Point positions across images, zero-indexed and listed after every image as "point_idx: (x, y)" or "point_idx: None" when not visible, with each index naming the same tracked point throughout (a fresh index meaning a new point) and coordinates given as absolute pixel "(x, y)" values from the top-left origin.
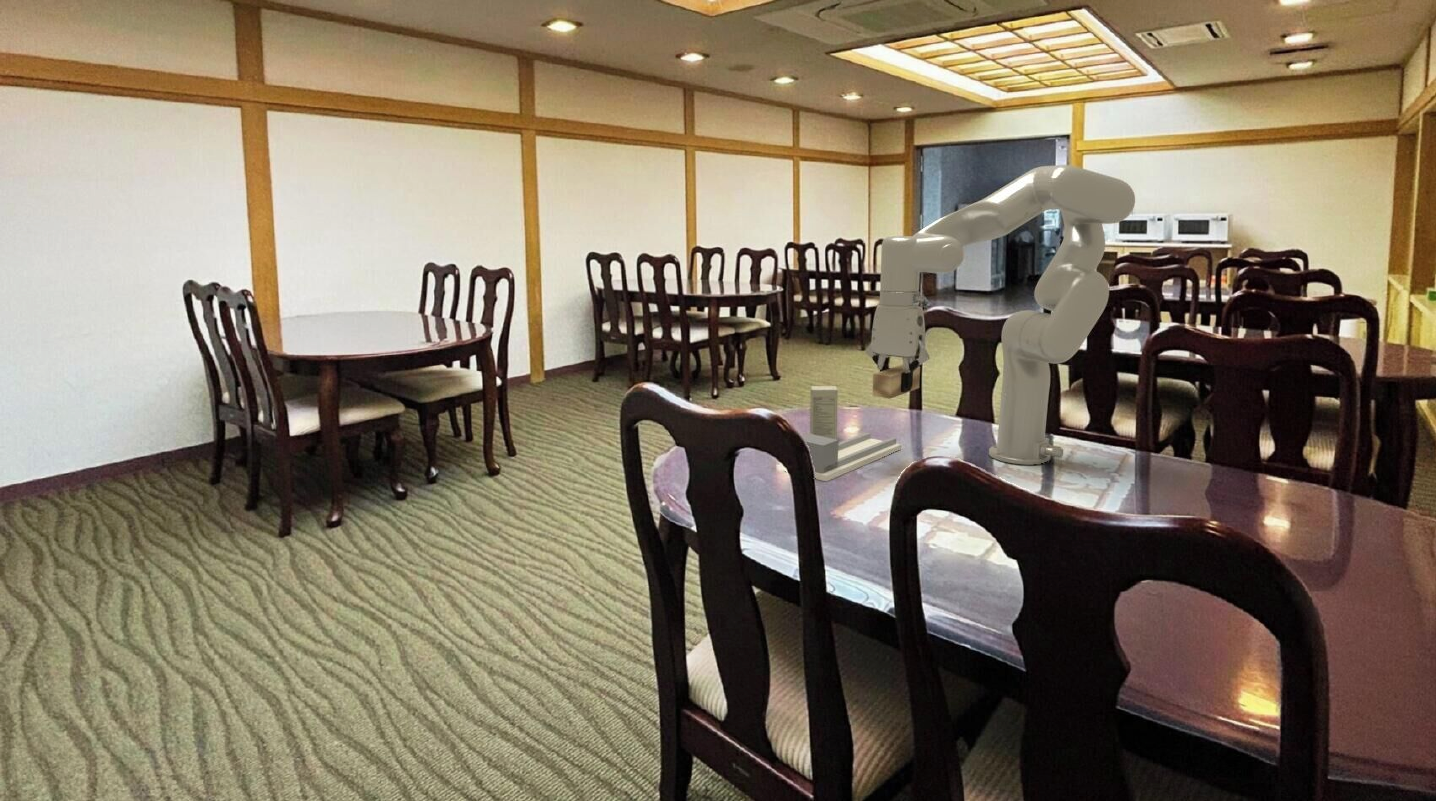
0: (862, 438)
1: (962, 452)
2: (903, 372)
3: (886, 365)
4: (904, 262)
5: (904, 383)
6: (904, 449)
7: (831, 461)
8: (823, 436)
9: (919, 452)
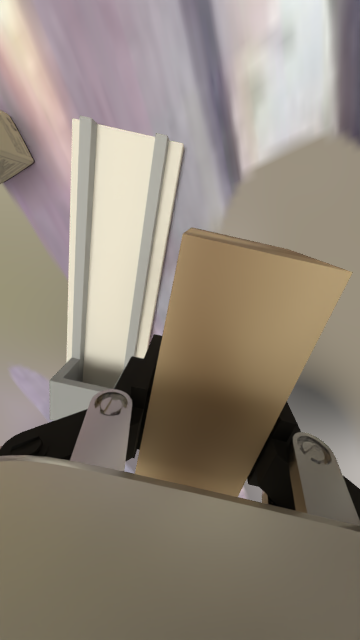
0: (91, 169)
1: (336, 72)
2: (254, 472)
3: (129, 443)
4: None
5: None
6: (190, 137)
7: None
8: (3, 174)
9: (229, 145)
